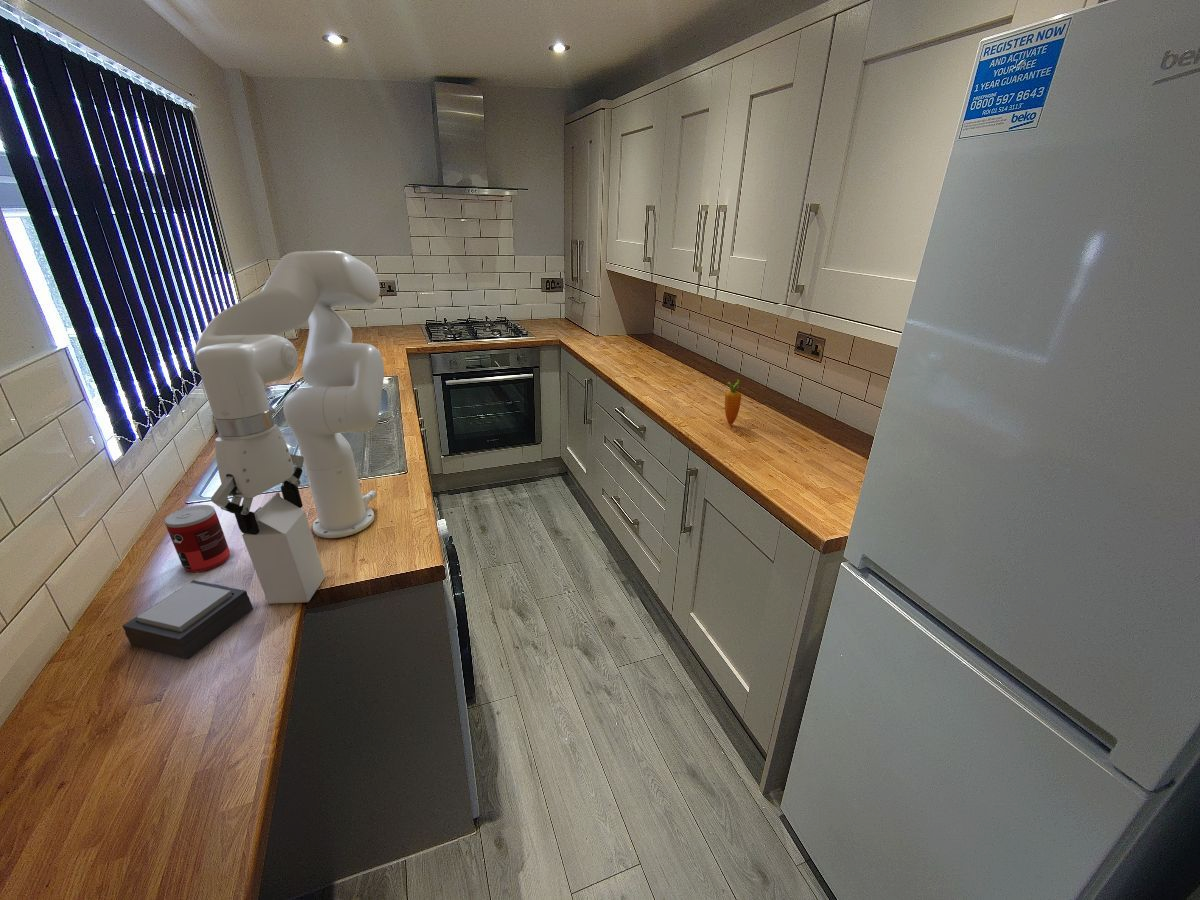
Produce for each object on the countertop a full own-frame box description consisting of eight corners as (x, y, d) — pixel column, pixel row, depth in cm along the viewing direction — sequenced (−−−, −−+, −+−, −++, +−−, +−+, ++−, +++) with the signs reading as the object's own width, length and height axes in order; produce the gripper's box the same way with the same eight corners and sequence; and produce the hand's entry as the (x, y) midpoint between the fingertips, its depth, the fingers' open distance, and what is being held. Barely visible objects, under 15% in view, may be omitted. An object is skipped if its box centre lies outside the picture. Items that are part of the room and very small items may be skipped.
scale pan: (193, 589, 92) (190, 582, 91) (233, 597, 90) (230, 590, 89) (139, 624, 84) (136, 617, 83) (182, 634, 82) (179, 627, 81)
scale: (200, 597, 95) (193, 579, 93) (253, 608, 92) (246, 590, 90) (130, 645, 84) (121, 625, 83) (187, 659, 82) (179, 639, 80)
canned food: (189, 556, 107) (170, 509, 103) (234, 546, 110) (218, 500, 105) (178, 577, 101) (158, 528, 96) (227, 567, 103) (209, 519, 99)
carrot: (723, 427, 168) (726, 382, 162) (722, 422, 172) (726, 377, 166) (739, 428, 167) (743, 382, 161) (737, 422, 172) (742, 378, 166)
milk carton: (325, 576, 100) (299, 491, 91) (308, 603, 93) (277, 513, 85) (288, 578, 99) (257, 492, 91) (268, 604, 93) (233, 515, 85)
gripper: (271, 405, 91) (295, 494, 98) (173, 440, 76) (209, 543, 82) (307, 408, 90) (328, 498, 96) (213, 445, 74) (247, 549, 81)
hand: (273, 519), depth 89 cm, fingers open, 8 cm apart
